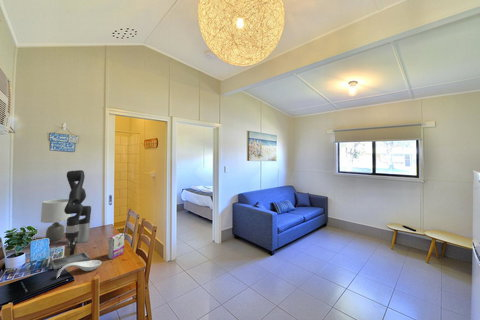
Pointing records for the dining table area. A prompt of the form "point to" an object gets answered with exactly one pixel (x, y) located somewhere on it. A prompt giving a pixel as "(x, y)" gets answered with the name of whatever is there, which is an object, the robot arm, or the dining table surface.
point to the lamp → (54, 217)
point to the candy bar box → (116, 245)
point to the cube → (67, 251)
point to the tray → (69, 260)
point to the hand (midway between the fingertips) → (70, 253)
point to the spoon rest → (82, 265)
